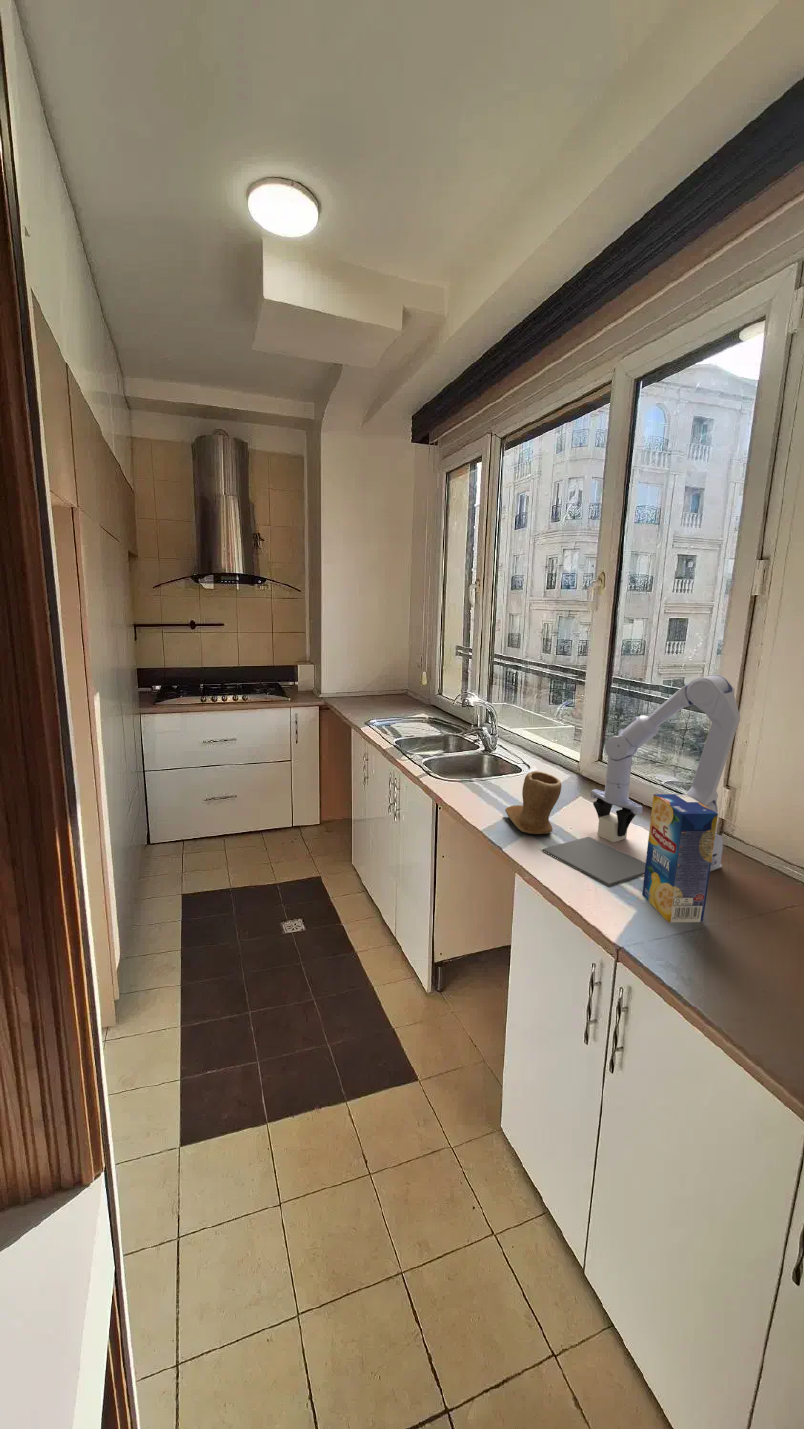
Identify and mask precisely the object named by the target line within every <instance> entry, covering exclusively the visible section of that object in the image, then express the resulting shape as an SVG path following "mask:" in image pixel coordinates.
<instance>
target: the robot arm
mask: <svg viewBox="0 0 804 1429" xmlns="http://www.w3.org/2000/svg"><path fill="white" fill-rule="evenodd" d="M691 706H696V707H697V708H698V709H699V710H701V711H702V712H704V713H705V715H706V716H707V718H708V719H709V720H710V721H711V724H710V728H709V731H708V732H707V737H706V739H705V740H706V741H705V743H704V746H703V749H702V753H701V756H700V758H699V762H698V765H697V768H696V771H695V775H694V778H693V780H692V784H691V787H690V788H689V790H688V791H687V792H686V794H687V795H688V796H690V797H692V798H693V799H695V800H696V801H698V802H700V803H701V804H703V805H705V806H706V807H708V808H709V809H711V810H713V811H714V812H716V813H718V812H719V809H718V804H717V802H718V798H719V794H718V792H717V790H718V787H719V783H720V781H721V777H722V775H723V771H724V768H725V766H726V763H727V760H728V757H729V754H730V750H731V748H732V745H733V741H734V739H735V736H736V732H737V729H738V727H739V723H740V720H741V716H740V711H739V708H738V703H737V701H736V697H735V688H734V686H733V685H732V684H731V683H730V682H729V681H728V679H727V678H726V677H725V676H722V675H721V674H710V675H707V676H704V677H697V678H694V679H693V680H691V681H690V682H689V683H688V684H686V685H684V686H682V687H681V688H680V689H679V688H678V690H677V691H675V692H674V694H672V695H671V696H670V697H669V698H667V700H665V701H664V702H663V703H662V704H661V705H660V706H658V707H657V708H656V709H655V710H654V711H653V712H652V713H650V714H649V715H644V714H643V715H642V714H641V715H640V716H634V717H633V718H632V719H631V723H630V724H628V725H627V726H626V727H625V728H624V729H623V728H621V729H620V730H618V731H617V732H618V735H613V736H611V737H609V738H608V739H607V741H606V742H605V745H604V750H605V753H606V755H607V756H608V757H607V763H606V764H607V765H606V774H605V784H604V791H603V790H600V789H597V788H596V789H592V790H590V798H592V799H596V801H595V800H594V801H593V802H592V803H593V804H592V805H593V807H594V809H595V811H596V814H597V818H598V819H599V817H602V816H606V815H610V814H611V810H612V808H613V805H614V806H616V807H618V808H620V809H618V810H616V811H615V813H616V814H615V815H616V816H617V818H618V829H617V834H618V836H619V837H621V836H624V835H625V833H626V831H627V832H628V828H629V826H630V824H631V823H632V821H633V819H634V818H635V817H636V816H637V815H641V814H642V812H643V806H642V805H641V804H639V803H636V802H634V801H633V800H631V799H630V798H629V790H630V780H631V772H632V760H633V756H634V755H635V754H637V752H638V749H640V748H642V746H644V745H645V744H646V743H648V742H649V741H650V740H651V739H652V738H654V737H655V736H656V735H658V733H659V728H660V727H659V726H660V725H662V724H663V723H665V722H666V721H667V720H669V719H670V718H671V717H673V716H674V715H676V714H677V713H679V712H680V711H681V710H683V709H684V708H686V707H691ZM723 848H724V839H723V836H721V835H720V834H718V833H716V832H715V839H714V846H713V853H712V860H711V867H710V872H712V871H715V870H718V869H721V868H723V864H722V856H723V850H724V849H723Z"/></svg>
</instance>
